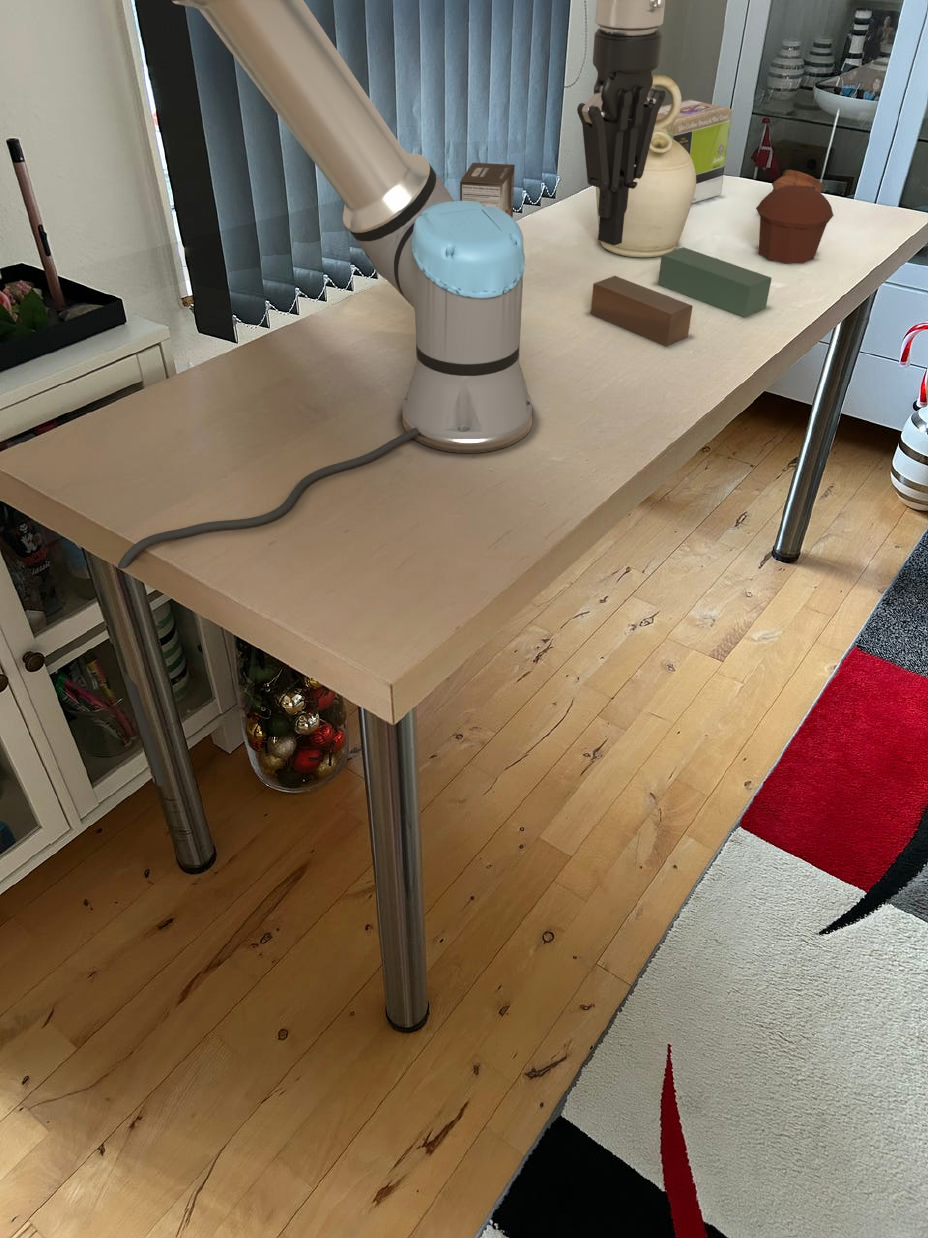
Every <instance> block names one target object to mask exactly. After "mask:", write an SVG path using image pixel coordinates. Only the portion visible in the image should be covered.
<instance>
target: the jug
mask: <svg viewBox="0 0 928 1238" xmlns="http://www.w3.org/2000/svg"><path fill="white" fill-rule="evenodd" d="M652 76H653V86H654V87H655V88H657V87H660V88H664V89H665V90H666V91H667V92H668V93H669V95H670V97H671V98H670V99H671V103H670V104H671V108H670V110H669V112H668V113H667V115H666V116H665V117H663V118H662V119H660V120H657V121H656V123H655V127H654V131H653V135H652V139H651V143H650V147H649V151H648V155H647V159H646V164H645V168H644V172H643V175H642V177H641V178H640V179H637V178H636V179H635V180H633V181H634V182H637V186H636V188H634V189H631V188H629V193H628V203H627V210H626V212H625V215H624V225H623V236H622V243H620V244H617V245H614V246H613V245H611V244H608V243H605V242H602V241H600V244H601V246H602V248H604V249H605V250H607V251H609V252H611V253H612V254H616V255H618V256H623V257H629V258H657V257H662V255H663V254H665V253H668V252H671V251H674V250H676V247H677V245H678V243H679V241H680V239H681V236H682V234H683V232H684V228H685V226H686V224H687V219H688V217H689V214H690V211H691V207H692V204H693V203H692V201H693V198H694V194H695V189H696V173H695V168H694V164H693V161H692V159H691V156H690V155H689V153H688V152H687V151H686V150H685V149H684V148H683V147H682V146H681V145H680V144H679V143H678V142H677V141H675V140H674V139H672V138H671V137H670V135H668V132H667V129H668V127H669V126H670V125H671V124H672V123H673V122H674V121H675V120H676V118H677V116H678V114H679V112H680V109H681V102H682V94H681V91H680V88H679V86H678V84H677V83H676V82H675V81H674V80H673V79H672V78H671V77H669V76H667V75H664V74H652ZM634 166H635V167H636V165H634ZM599 195H600V190H599V188H598V187H595V199H596V211H597V226H598V227H599V222H600V216H599V214H598V208H599Z"/></svg>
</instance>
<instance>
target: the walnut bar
mask: <svg viewBox="0 0 928 1238" xmlns="http://www.w3.org/2000/svg"><path fill="white" fill-rule="evenodd" d="M693 307H694V306H693V305H692V304H689V303H687V302H685V301H682V300H679V299H678V298H674V297H672V296H669V295H666V294H664V293H661V292H658V291H656V290H654V289H650V288H648V287H645V286H643V285H640V284H637V283H635V282H633V281H630V280H627V279H625V278H622V277H620V276H617V275H613V276H609V277H607V278H604V279H601V280H598V281H596V282H594V283H592V294H591V306H590V315H591V316H594V317H596V318H599V319H600V320H601V319H602V321H606V322H608V323H609V324H612V325H615V326H617V327H620V328H622V329H625V330H627V331H629V332H632V333H634V334H636V335H639V336H640V337H644V338H645V339H648V340H651V341H653V342H655V343H657V344H660V345H662V346H665V347H669V346H671V345H673V344H675V343H678V342H680V341H683V340H684V339H685V340H686V339H687V338H688V337H689V332H690V331H689V330H690V325H691V321H692V313H693Z"/></svg>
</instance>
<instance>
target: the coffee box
mask: <svg viewBox="0 0 928 1238" xmlns="http://www.w3.org/2000/svg"><path fill="white" fill-rule="evenodd" d="M515 166H516V165H515V164H512V163H511V164H509V163H489V162H472V163H471V164H470V166H469V167H468V169H467V170H466V171H465V173H464V175H463V176H462V178H461V179H460V180H459V201H470V202H477V203H482V204H483V205H484V206H485V207H489V206H493V207H495V208H498V209H500V210H502V211H504V212H505V213H507V214H508V215H510V216H511V217H512V218H513V219H514V195H515V194H514V192H515V190H514V189H515Z"/></svg>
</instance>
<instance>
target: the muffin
mask: <svg viewBox="0 0 928 1238" xmlns="http://www.w3.org/2000/svg"><path fill="white" fill-rule="evenodd" d="M755 209H756V212H757V213H758V215H759V233H758V234H759V237H758V255H759V256H761V257H764V258H765V259H766V260H767V261H772V262H777V263H781V264H785V265H786V264H787V265H788V264H804V263H807V262H809V261H813V260H814V259H815V257H816V254H817V252H818V248H819V246H820V243H821V241H822V239H823V235H824V233H825V230H826V227H827V224H828V223H829V222H830V221H831V219H832V218H833V217H834V213H833V208H832V205H831V203H830V201H829V200H828V199H827V197H825V195H824V194H823V193H822V192H821V193H820V192H818V191H817V190H815V189H813V188H810V187H806V186H798V185H793V186H785V187H781V188H779V189H776V190H774V191H772V190H771V192H768V194H767V195H766V196H764V198H762V200H761V201H760V202H759V203H758V205H757V206H756V207H755Z"/></svg>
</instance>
